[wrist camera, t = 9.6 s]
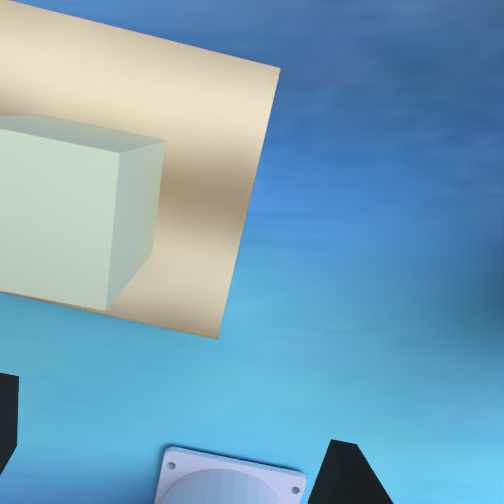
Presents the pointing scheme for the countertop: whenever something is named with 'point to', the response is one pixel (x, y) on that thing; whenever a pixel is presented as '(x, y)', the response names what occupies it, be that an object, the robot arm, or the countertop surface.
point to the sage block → (75, 208)
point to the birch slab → (161, 127)
